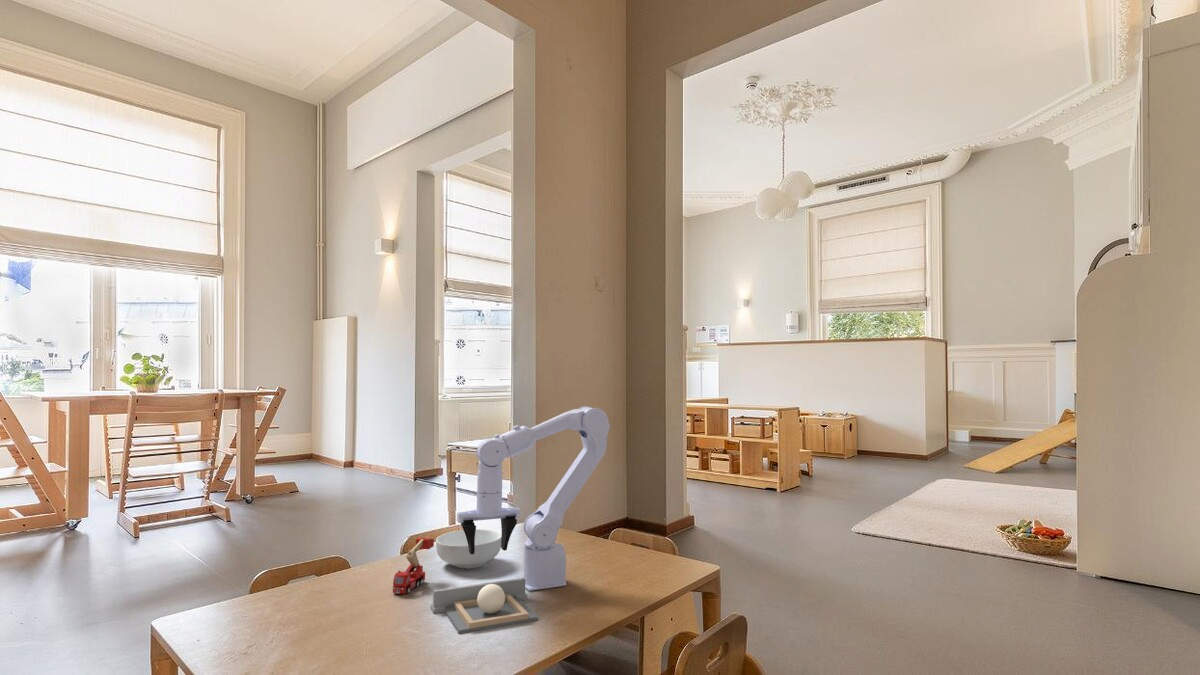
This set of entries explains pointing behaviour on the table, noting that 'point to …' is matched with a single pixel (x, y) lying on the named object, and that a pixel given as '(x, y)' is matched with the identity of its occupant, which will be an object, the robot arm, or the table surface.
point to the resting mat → (488, 615)
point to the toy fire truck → (412, 569)
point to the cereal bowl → (457, 551)
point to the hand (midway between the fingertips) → (488, 551)
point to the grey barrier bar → (474, 593)
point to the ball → (491, 598)
